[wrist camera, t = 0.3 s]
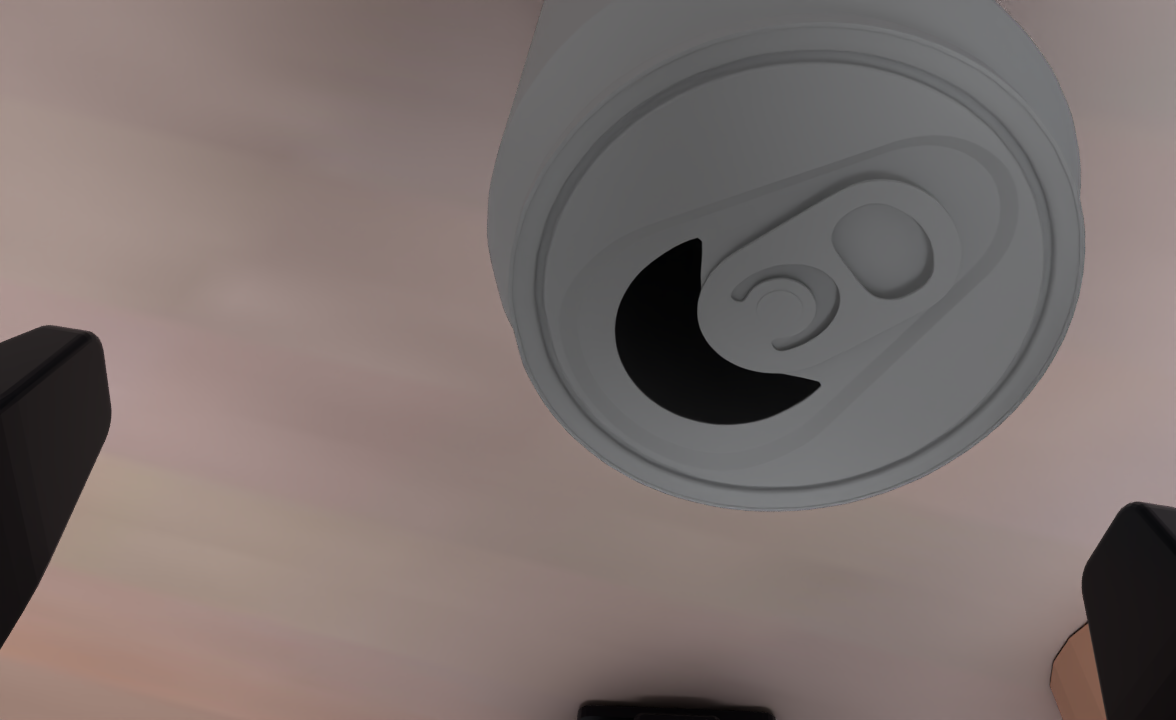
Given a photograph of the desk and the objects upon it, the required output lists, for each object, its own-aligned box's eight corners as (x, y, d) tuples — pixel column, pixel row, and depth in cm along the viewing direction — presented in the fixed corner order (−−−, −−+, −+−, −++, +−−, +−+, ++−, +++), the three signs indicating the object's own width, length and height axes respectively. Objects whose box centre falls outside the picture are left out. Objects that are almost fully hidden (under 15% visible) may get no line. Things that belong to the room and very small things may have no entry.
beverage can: (491, -42, 20) (332, 264, 10) (768, -288, 17) (922, -204, 7) (685, 193, 22) (708, 616, 13) (948, 10, 20) (1237, 364, 10)
